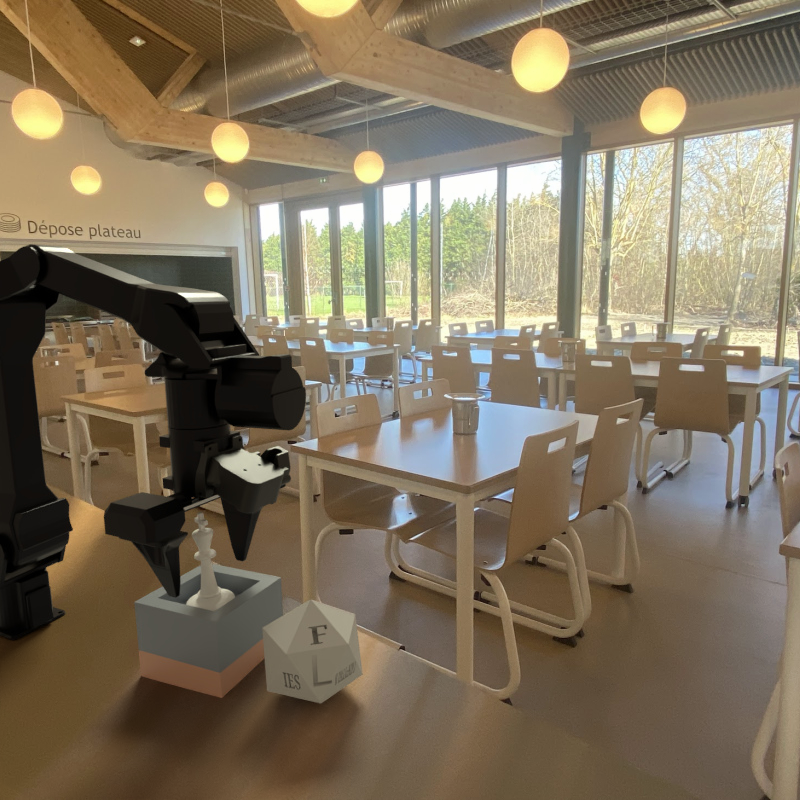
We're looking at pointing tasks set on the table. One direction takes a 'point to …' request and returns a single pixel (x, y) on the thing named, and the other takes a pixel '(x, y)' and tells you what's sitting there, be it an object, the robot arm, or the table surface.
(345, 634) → the die
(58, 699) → the table surface
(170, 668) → the grey planter box
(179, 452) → the robot arm
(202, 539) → the chess piece
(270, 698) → the table surface
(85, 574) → the table surface
